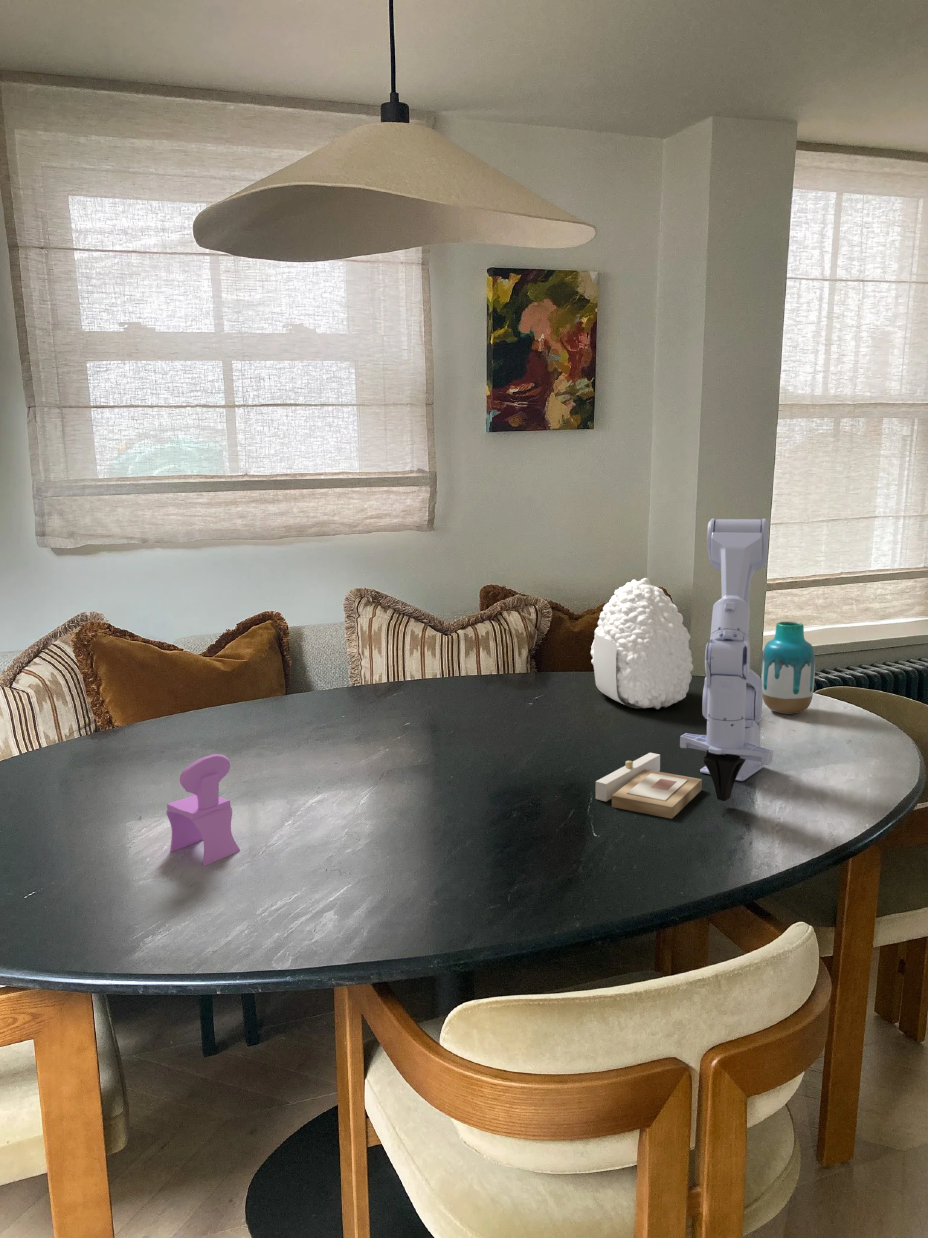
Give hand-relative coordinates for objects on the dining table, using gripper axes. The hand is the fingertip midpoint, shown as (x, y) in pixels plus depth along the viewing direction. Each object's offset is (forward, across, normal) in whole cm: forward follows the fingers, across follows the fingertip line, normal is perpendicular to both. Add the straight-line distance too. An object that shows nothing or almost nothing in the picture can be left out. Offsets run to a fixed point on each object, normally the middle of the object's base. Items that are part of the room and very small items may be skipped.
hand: (723, 798), depth 149 cm
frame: (+2, -10, -3) cm, 11 cm away
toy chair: (+2, -53, -60) cm, 80 cm away
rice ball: (+2, -42, +48) cm, 64 cm away
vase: (+2, -12, +57) cm, 58 cm away
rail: (+1, -17, 0) cm, 17 cm away
